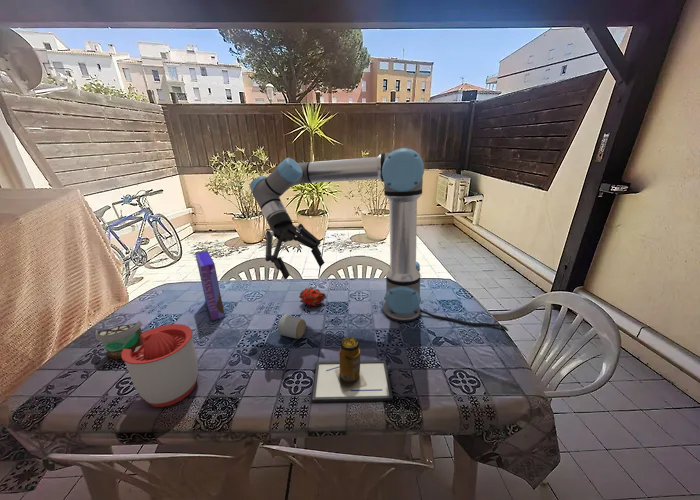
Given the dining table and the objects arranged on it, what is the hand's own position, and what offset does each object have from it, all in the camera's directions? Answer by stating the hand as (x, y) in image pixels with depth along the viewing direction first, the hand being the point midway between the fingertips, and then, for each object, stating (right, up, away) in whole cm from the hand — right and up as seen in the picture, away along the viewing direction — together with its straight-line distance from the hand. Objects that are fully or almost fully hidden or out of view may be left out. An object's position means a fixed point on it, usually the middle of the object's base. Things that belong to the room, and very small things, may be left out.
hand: (305, 270), depth 87 cm
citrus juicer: (-37, -34, -10) cm, 51 cm away
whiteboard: (+15, -32, -7) cm, 36 cm away
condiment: (+14, -32, -7) cm, 35 cm away
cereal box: (-44, -19, +29) cm, 56 cm away
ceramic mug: (-7, -25, +14) cm, 29 cm away
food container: (-61, -29, +4) cm, 68 cm away
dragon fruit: (-2, -18, +33) cm, 37 cm away
